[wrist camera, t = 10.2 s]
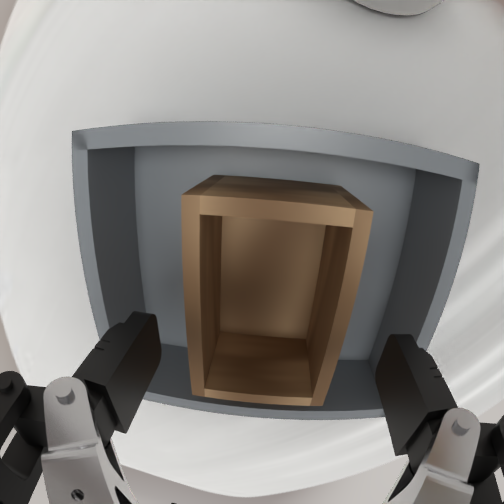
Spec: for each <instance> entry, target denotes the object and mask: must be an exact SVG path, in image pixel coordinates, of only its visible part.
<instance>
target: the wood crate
mask: <svg viewBox="0 0 504 504" xmlns="http://www.w3.org/2000/svg"><path fill="white" fill-rule="evenodd" d="M373 212H374V211H373V210H371V209H370V208H369V207H368V206H366V205H365V204H364V203H363V202H361V201H360V200H359V199H357V198H356V197H355V196H354V195H352V194H351V193H350V192H348V191H347V190H346V189H344V188H343V187H342V186H339V185H331V184H322V183H313V182H304V181H294V180H283V179H272V178H259V177H245V176H228V175H212V176H211V177H209V178H207V179H206V180H204V181H202V182H201V183H199V184H197V185H196V186H194V187H193V188H191V189H189V190H188V191H186V192H185V193H183V194H182V195H181V226H182V266H183V289H184V307H185V322H186V336H187V348H188V359H189V369H190V379H191V388H192V395H196V396H203V397H210V398H217V399H224V400H233V401H242V402H252V403H264V404H278V405H299V406H323V403H324V400H325V397H326V395H327V392H328V389H329V386H330V383H331V380H332V377H333V374H334V371H335V368H336V365H337V362H338V359H339V356H340V352H341V349H342V346H343V342H344V339H345V336H346V332H347V329H348V325H349V321H350V318H351V314H352V310H353V306H354V302H355V298H356V294H357V290H358V286H359V282H360V278H361V273H362V269H363V264H364V260H365V255H366V250H367V245H368V240H369V235H370V229H371V224H372V218H373Z"/></svg>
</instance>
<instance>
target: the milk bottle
mask: <svg viewBox="0 0 504 504" xmlns="http://www.w3.org/2000/svg"><path fill="white" fill-rule="evenodd" d="M353 1H355V2H357V3H359V4H361V5H364V6H366V7H368V8H370V9H373V10H377V11H380V12H383V13H389V14H394V15H417V14H421V13H424V12H426V11H428V10H430V9H431V8H433V7H435V6H436V5H438V4H439V3H441V2H442V1H444V0H353Z"/></svg>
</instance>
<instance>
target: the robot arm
mask: <svg viewBox="0 0 504 504" xmlns="http://www.w3.org/2000/svg"><path fill="white" fill-rule="evenodd" d="M161 354H162V349H161V342H160V336H159V329H158V322H157V317H156V315H155V314H151V313H145V312H139V311H133V312H132V313H131V315H130V316H129V317H128V319H127V320H126V321H125V323H121V322H119V323H118V324H116V325H114V326H113V327H111V328H110V329H108V330H107V331H106V333H105V334H104V335H103V336H102V338H101V340H100V341H99V342H98V343H97V344H96V345H95V348H94V349H92V351H91V352H90V353H89V355H88V356H87V357H86V359H85V360H84V361H83V363H82V364H81V365H80V367H79V368H78V369H77V371H76V372H75V373H74V375H73V376H72V377H61V378H58V379H56V380H54V381H52V382H51V383H50V384H49V385H48V386H47V387H38V386H29V385H26V383H25V381H24V379H23V377H22V376H21V375H20V374H19V373H17V372H14V371H6V372H3V373H1V374H0V449H1V447H2V445H3V443H4V442H5V440H6V438H7V437H8V435H9V433H10V432H11V430H12V428H13V427H14V428H15V430H16V431H17V433H16V434H15V436H14V438H13V439H12V441H11V443H10V444H9V446H8V448H7V450H6V451H5V453H4V455H3V457H2V459H1V458H0V504H28V503H29V501H30V498H31V496H32V493H33V491H34V489H35V487H36V485H37V482H38V480H39V478H40V476H41V473H42V472H43V475H44V480H45V485H46V490H47V495H48V499H49V503H50V504H139V503H138V501H137V500H136V498H135V496H134V494H133V493H132V491H131V489H130V487H129V485H128V483H127V480H126V478H125V475H124V473H123V470H122V467H121V465H120V462H119V459H118V456H117V453H116V450H115V447H114V444H113V441H112V439H111V437H112V435H113V432H114V430H116V431H119V432H122V433H127V431H128V429H129V427H130V424H131V422H132V420H133V418H134V416H135V414H136V412H137V410H138V407H139V405H140V403H141V401H142V399H143V397H144V395H145V393H146V391H147V389H148V387H149V384H150V382H151V380H152V378H153V376H154V374H155V372H156V370H157V368H158V366H159V364H160V360H161ZM375 382H376V386H377V389H378V392H379V396H380V399H381V403H382V406H383V410H384V413H385V417H386V421H387V424H388V428H389V432H390V436H391V440H392V444H393V448H394V452H395V456H398V455H405V454H408V457H409V460H408V461H407V462H406V464H405V465H404V468H403V469H402V471H401V473H400V475H399V477H398V478H397V480H396V482H395V484H394V486H393V487H392V489H391V491H390V493H389V494H388V496H387V497H386V499H385V501H384V502H383V503H382V504H504V502H503V503H502V500H501V496H500V492H499V489H498V485H497V482H496V478H495V475H494V472H495V471H496V470H497V469H499V468H500V467H501V469H502V473H503V476H504V415H503V416H502V418H501V419H500V420H499V422H498V423H497V424H490V423H479V420H478V419H477V417H476V416H475V415H474V414H473V413H472V412H470V411H469V410H467V409H464V408H458V407H457V404H456V402H455V400H454V398H453V396H452V394H451V392H450V390H449V388H448V386H447V384H446V382H445V380H444V378H442V374H441V373H440V371H439V369H437V365H436V363H435V361H434V359H433V358H432V356H431V355H430V354H429V353H428V352H426V351H425V350H424V349H423V348H419V347H418V345H417V343H416V341H415V339H414V338H413V336H412V335H411V334H391V335H389V337H388V339H387V341H386V344H385V347H384V349H383V352H382V354H381V357H380V360H379V362H378V365H377V367H376V372H375ZM171 504H175V503H171Z"/></svg>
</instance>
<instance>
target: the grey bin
mask: <svg viewBox="0 0 504 504" xmlns="http://www.w3.org/2000/svg"><path fill="white" fill-rule="evenodd" d="M72 171H73V189H74V202H75V213H76V222H77V231H78V238H79V245H80V252H81V258H82V264H83V270H84V275H85V280H86V285H87V290H88V295H89V299H90V304H91V308H92V312H93V316H94V320H95V324H96V328H97V332H98V336H99V339H100V340H101V338H102V336H103V335H104V334H105V333H106V331H107V330H108V329H110V328H111V327H113V326H114V325H116V324H118V323H119V322H121V323H125V321H126V320H127V319H128V317H129V316H130V315H131V313H132V312H133V311H139V312H145V313H151V314H155V315H156V317H157V322H158V329H159V336H160V342H161V349H162V354H161V360H160V364H159V366H158V368H157V370H156V372H155V374H154V376H153V378H152V380H151V382H150V384H149V387H148V389H147V391H146V393H145V395H144V397H143V399H145V400H149V401H153V402H158V403H162V404H167V405H172V406H177V407H183V408H188V409H194V410H200V411H207V412H214V413H221V414H229V415H238V416H248V417H260V418H274V419H297V420H340V419H362V418H376V417H385V413H384V410H383V406H382V403H381V399H380V396H379V392H378V389H377V386H376V382H375V372H376V367H377V365H378V362H379V360H380V357H381V354H382V352H383V349H384V347H385V344H386V341H387V339H388V337H389V335H391V334H411V335H412V336H413V338H414V339H415V341H416V343H417V345H418V347H419V348H423V349H424V350H425V351H426V350H427V348H428V346H429V343H430V341H431V339H432V337H433V334H434V332H435V330H436V327H437V325H438V322H439V320H440V317H441V315H442V312H443V309H444V307H445V304H446V301H447V299H448V296H449V293H450V290H451V287H452V284H453V281H454V278H455V275H456V272H457V268H458V265H459V262H460V258H461V255H462V251H463V247H464V243H465V239H466V235H467V231H468V227H469V223H470V218H471V213H472V208H473V203H474V198H475V192H476V186H477V179H478V172H479V163H476V162H473V161H469V160H466V159H463V158H460V157H456V156H453V155H449V154H446V153H442V152H439V151H435V150H431V149H427V148H423V147H419V146H415V145H411V144H406V143H402V142H397V141H392V140H387V139H382V138H377V137H372V136H366V135H361V134H355V133H348V132H342V131H335V130H327V129H320V128H311V127H302V126H292V125H280V124H267V123H250V122H218V121H190V122H159V123H142V124H129V125H118V126H108V127H99V128H91V129H84V130H77V131H72ZM212 175H228V176H245V177H259V178H272V179H283V180H294V181H304V182H313V183H322V184H331V185H339V186H342V187H343V188H344V189H346V190H347V191H348V192H350V193H351V194H352V195H354V196H355V197H356V198H357V199H359V200H360V201H361V202H363V203H364V204H365V205H366V206H368V207H369V208H370V209H371V210H373V211H374V212H373V218H372V224H371V229H370V235H369V240H368V245H367V250H366V255H365V260H364V264H363V269H362V273H361V278H360V282H359V286H358V290H357V294H356V298H355V302H354V306H353V310H352V314H351V318H350V321H349V325H348V329H347V332H346V336H345V339H344V342H343V346H342V349H341V352H340V356H339V359H338V362H337V365H336V368H335V371H334V374H333V377H332V380H331V383H330V386H329V389H328V392H327V395H326V397H325V400H324V403H323V406H299V405H278V404H264V403H252V402H242V401H233V400H224V399H217V398H210V397H203V396H196V395H192V388H191V379H190V369H189V359H188V348H187V336H186V322H185V307H184V289H183V266H182V226H181V195H182V194H183V193H185V192H186V191H188V190H189V189H191V188H193V187H194V186H196V185H197V184H199V183H201V182H202V181H204V180H206V179H207V178H209V177H211V176H212Z"/></svg>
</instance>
